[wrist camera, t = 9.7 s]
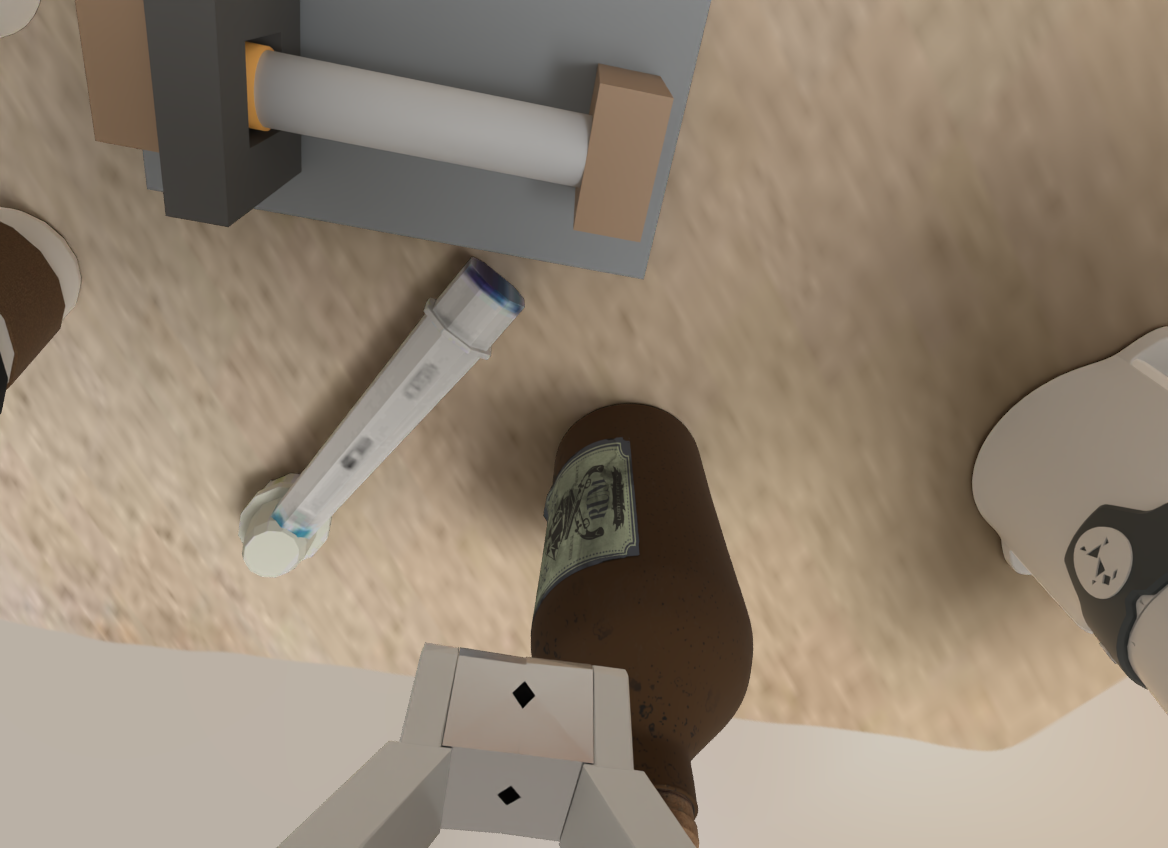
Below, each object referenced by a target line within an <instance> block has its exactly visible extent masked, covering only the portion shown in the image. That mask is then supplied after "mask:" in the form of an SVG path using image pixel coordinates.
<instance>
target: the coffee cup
mask: <svg viewBox="0 0 1168 848" xmlns="http://www.w3.org/2000/svg"><path fill="white" fill-rule="evenodd" d="M80 286H81V274H80V270H79V266H78V261H77V258H76V256H75V255H74V253H73V252H72V250H71V249H70V247H69V245H68V244H67V242H66V241H65V239H64V238H63V237H62V236H60V235H59V234H58V233H57V232H56V231H55V230H54V229H52V228H51V227H50V226H49V225H48V224H47V223H46V222H44V221H42V220H40V219H38V218H36V217H33V216H31V215H29V214H27V213H25V212H23V211H20V210H16V209H11V208H3V207H0V414H1V412H2V407H3V402H4V397H5V392H6V390H7V389H8V388H9V387H10V386H11V385H12V384H13V383H14V381H15V380H16V379H17V378H18V377H19V376H20V375H21V373H22V372H23V371H24V370H25V369H26V368H27V366H28V365H29V364H30V363H31V362H32V361H33V359H34V358H35V357H36V356H37V355H38V354H39V353H40V351H41V350H42V349H43V348H44V347H45V346H46V344H47V343H48V342H49V341H50V340H51V339H52V338H53V336H54V335H55V334H56V333H57V332H58V331H59V329H60V327H61V323H62V320H63V319H64V318H65V317H66V316H67V315H68V313H69V312H70V311H71V310H72V309H73V308H74V306H75V305H76V302H77V298H78V294H79V290H80Z"/></svg>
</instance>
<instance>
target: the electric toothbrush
mask: <svg viewBox="0 0 1168 848" xmlns="http://www.w3.org/2000/svg"><path fill="white" fill-rule="evenodd" d="M524 307H525V304H524V298H523V297H522V296H521V295H520V294H519V292H518V291H517V290H516V289H515V288H514V287H513V286H512V285H511V284H510V283H509V282H507V281H506V280H505V279H504V278H503V277H501V276H500V275H499V274H498V273H496V272H495V271H494V270H493V269H492V268H490V267H489V266H488V265H487V264H485V263H484V262H482V261H480V260H478V259H476V258H474V257H471V259H470V260H469V261H468V262H467V263H466V265H465V266H464V267H463V268H462V269H461V271H460V272H459V273H458V274H457V276H456V277H455V278H454V279H453V280H452V282H451V283H450V284H449V285H448V286H447V288H446V289H445V290H444V291H443V293H442V294H441V295H440V296H439V297H438V299H437V300H436V299H434V298H431V297H430V298H429V299H428V301H427V302H426V305H425V308H424V311H423V312H424V313H425V315H424V316H423V317H422V319H421V320H420V321H419V323H418V324H417V325H416V326H415V328H414V329H413V330H412V332H411V333H410V334H409V335H408V337H407V338H406V339H405V341H404V342H403V343H402V344H401V346H400V347H399V348H398V350H397V351H396V352H395V353H394V355H393V356H392V357H391V359H390V360H389V361H388V363H387V364H386V365H385V366H384V368H383V369H382V370H381V372H380V373H379V374H378V375H377V377H376V378H375V379H374V381H373V382H372V383H371V384H370V386H369V387H368V388H367V390H366V391H365V392H364V393H363V395H362V396H361V397H360V399H359V400H358V401H357V402H356V404H355V405H354V406H353V408H352V409H351V410H350V411H349V413H348V414H347V415H346V417H345V418H344V419H343V420H342V422H341V423H340V424H339V426H338V427H337V428H336V429H335V431H334V432H333V433H332V435H331V436H330V437H329V438H328V440H327V441H326V442H325V444H324V445H323V446H322V447H321V449H320V450H319V451H318V453H317V454H316V455H315V456H314V458H313V459H312V460H311V462H310V463H309V464H308V466H307V467H306V468H305V469H304V471H303V472H302V473H301V474H293V473H289V474H288V475H286V476H283V477H281V478H279V479H276V480H274V481H272V480H270V482H269V483H268V484H267V485H266V487H265V488H264V489H262V490H260V491H258V492H257V493H256V495H255V496H254V497H253V498H252V500H251V501H250V502H249V503H248V505H247V506H246V507H245V508H244V510H243V511H242V513H241V516H240V525H239V534H238V536H239V537H240V539H241V541H242V543H243V550H242V555H243V559H244V561H245V563H246V565H247V567H248V568H249V570H250V571H252V572H254V573H255V574H257V575H259V576H261V577H278V576H280V575H283V574H285V573H288V572H290V571H291V570H293V569H294V568H295V567H296V566H297V565H298V564H299V563H300V562H301V561H302V560H305V559H307V558H309V557H312V556H313V555H314V554H315V553H316V552H317V550H318V549H319V548H320V547H321V546H322V545H323V543H324V542H325V541H326V540H327V538H328V535H329V531H330V525H331V520H332V515H333V514H334V513H335V512H336V511H337V510H338V508H339V507H340V506H341V505H342V504H343V503H344V502H345V501H346V500H347V499H348V498H349V497H350V496H351V495H352V494H353V493H354V491H355V490H356V489H357V488H358V487H359V486H360V485H361V484H362V483H363V482H364V481H365V480H366V479H367V478H368V477H369V476H370V474H371V473H372V472H373V471H374V470H375V469H376V468H377V467H378V466H379V465H380V464H381V463H382V462H383V461H384V460H385V459H386V457H387V456H388V455H389V454H390V453H391V452H392V451H393V450H394V449H395V448H396V447H397V446H398V445H399V444H400V443H401V442H402V441H403V439H404V438H405V437H406V436H407V435H408V434H409V433H410V432H411V431H412V430H413V429H414V428H415V427H416V426H417V425H418V424H419V422H420V421H421V420H422V419H423V418H424V417H425V416H426V415H427V414H428V413H429V412H430V411H431V410H432V409H433V408H434V407H435V405H436V404H437V403H438V402H439V401H440V400H441V399H442V398H443V397H444V396H445V395H446V394H447V393H448V392H449V391H450V390H451V389H452V387H453V386H454V385H455V384H456V383H457V382H458V381H459V380H460V379H461V378H462V377H463V376H464V375H465V374H466V373H467V372H468V370H469V369H470V368H471V367H472V366H473V365H474V364H475V363H476V362H477V361H478V360H479V359H480V358H482V359H485V360H488V359H489V357H490V356H491V346H492V344H493V343H494V342H495V341H496V340H497V338H498V337H499V336H500V335H501V334H502V333H503V331H504V330H505V329H506V328H507V327H508V326H509V325H510V323H511V322H512V321H513V320H514V319H515V318H516V317H517V315H518V314H519V313H520V312H521V311H522V310H523V309H524Z"/></svg>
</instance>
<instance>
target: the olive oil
mask: <svg viewBox="0 0 1168 848" xmlns="http://www.w3.org/2000/svg"><path fill="white" fill-rule="evenodd" d="M550 489H551V490H550V492H548V493H549V494H547V495H548V496H547V497H546V498H547V499H546V503H545V509H544V515H543V516H544V517H545V519H546V520H547V529H546V536H545V543H544V550H543V557H542V564H541V570H540V577H539V583H538V589H537V596H536V602H535V608H534V615H533V621H532V628H531V654H532V657H533V658H541V659H549V660H558V661H566V662H575V663H583V664H591V666H593V665H595V666H602V667H610V668H618V669H625V670H626V672H627V674H628V679H629V697H630V714H631V731H632V748H633V765H634V770H638V771H644V772H645V774H646V775H647V777H648V778H649V780H650V781H651V783H652V784H653V786H654V787H655V788H656V790H657V791H658V793H659V794H660V796H661V797H662V799H663V800H664V802H665V803H666V805H667V806H668V807H669V809H670V810H671V812H672V813H673V815H674V816H675V818H676V819H677V821H678V822H679V823H680V825H681V826H682V828H683V829H684V831H685V832H686V834H687V835H688V837H689V838H690V840H691V841H692V842H693V844H694V845H695V847H696V848H699V838H698V830H697V825H696V823H695V821H694V820H695V818H696V816H697V813H698V805H697V801H696V793H695V786H694V780H693V774H692V768H691V760H692V759H693V758H694V757H695V756H696V755H697V754H698V753H699V752H700V751H701V750H702V749H703V748H704V747H705V746H706V745H707V744H708V743H709V742H710V741H711V740H712V739H713V738H714V737H715V736H716V735H717V734H718V733H719V732H720V731H721V730H722V729H723V728H724V727H725V726H726V725H727V724H728V722H729V721H730V720H731V719H732V717H733V716H734V715H735V713H736V711H737V710H738V708H739V707H740V705H741V703H742V701H743V698H744V696H745V693H746V691H747V687H748V683H749V679H750V673H751V666H752V658H753V635H752V628H751V623H750V619H749V615H748V612H747V609H746V605H745V602H744V599H743V596H742V593H741V590H740V587H739V584H738V581H737V578H736V574H735V571H734V568H733V565H732V562H731V559H730V556H729V553H728V550H727V546H726V543H725V540H724V537H723V533H722V530H721V527H720V524H719V520H718V517H717V514H716V511H715V507H714V504H713V501H712V498H711V494H710V491H709V487H708V483H707V480H706V476H705V472H704V469H703V465H702V461H701V458H700V454H699V451H698V448H697V445H696V442H695V440H694V438H693V437H692V435H691V433H690V432H689V431H688V429H687V428H686V427H685V426H684V425H683V424H682V423H681V422H680V421H679V420H678V419H676V418H675V417H673V416H672V415H670V414H669V413H667V412H665V411H662V410H660V409H657V408H654V407H651V406H647V405H641V404H618V405H612V406H607V407H604V408H601V409H598V410H596V411H593V412H591V413H589V414H588V415H586V416H584V417H583V418H581V419H580V420H579V421H577V422H576V423H575V424H574V425H573V426H572V427H571V428H570V429H569V430H568V432H567V433H566V434H565V436H564V437H563V439H562V441H561V443H560V445H559V448H558V451H557V455H556V460H555V468H554V476H553V485H552V487H551V488H550Z"/></svg>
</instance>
